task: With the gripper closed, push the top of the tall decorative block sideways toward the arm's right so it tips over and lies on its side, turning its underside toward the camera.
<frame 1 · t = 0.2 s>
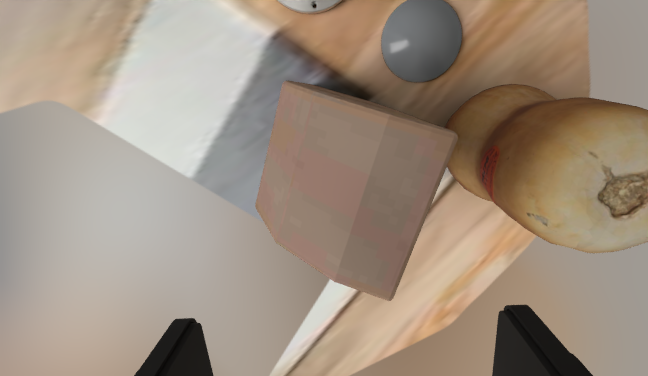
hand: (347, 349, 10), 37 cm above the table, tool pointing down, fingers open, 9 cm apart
butternut squash: (479, 137, 44), on the table
grey dome: (420, 41, 41), on the table
decorative block: (335, 129, 45), on the table
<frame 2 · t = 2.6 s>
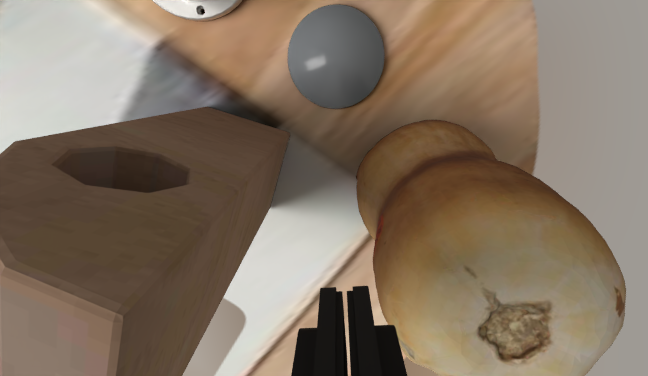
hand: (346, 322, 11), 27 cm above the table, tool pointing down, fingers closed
butternut squash: (410, 174, 37), on the table
grey dome: (335, 59, 34), on the table
decorative block: (239, 159, 37), on the table
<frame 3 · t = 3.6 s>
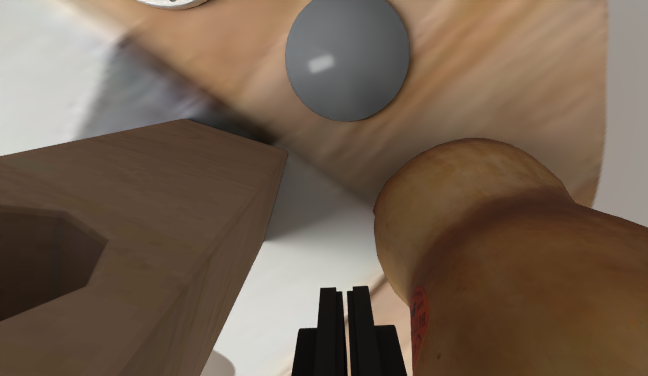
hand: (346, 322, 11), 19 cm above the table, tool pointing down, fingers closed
butternut squash: (438, 203, 30), on the table
grey dome: (346, 59, 26), on the table
decorative block: (226, 183, 30), on the table
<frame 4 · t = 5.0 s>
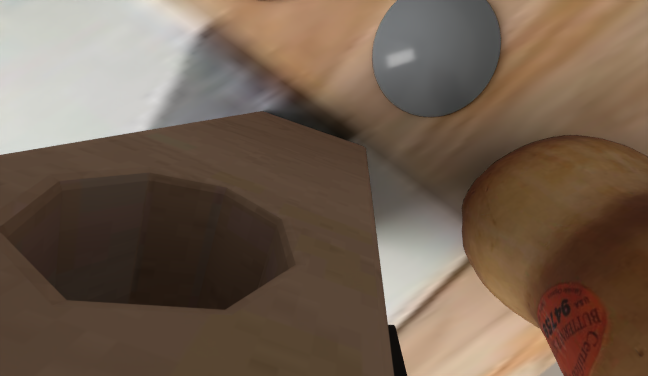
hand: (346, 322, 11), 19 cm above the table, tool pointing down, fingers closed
butternut squash: (513, 201, 30), on the table
grey dome: (433, 53, 26), on the table
decorative block: (297, 179, 29), on the table, touching gripper
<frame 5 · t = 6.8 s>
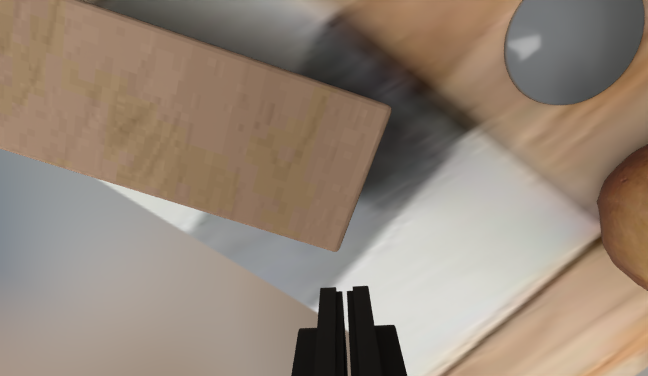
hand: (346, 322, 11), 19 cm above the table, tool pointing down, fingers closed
butternut squash: (635, 191, 29), on the table
grey dome: (569, 39, 25), on the table
decorative block: (361, 167, 24), point 5 cm above the table
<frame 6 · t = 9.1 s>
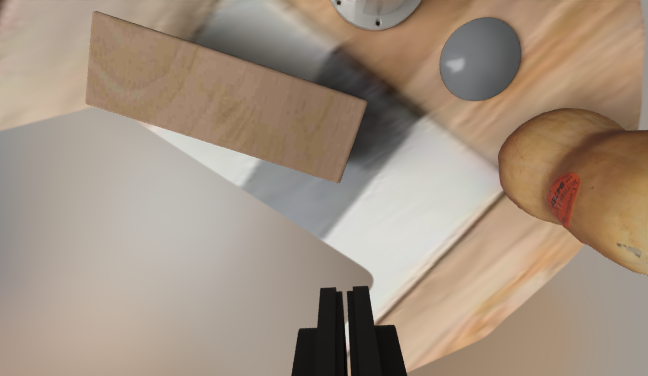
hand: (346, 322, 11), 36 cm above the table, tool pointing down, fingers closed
butternut squash: (528, 156, 45), on the table
grey dome: (478, 61, 42), on the table
decorative block: (353, 138, 40), point 5 cm above the table
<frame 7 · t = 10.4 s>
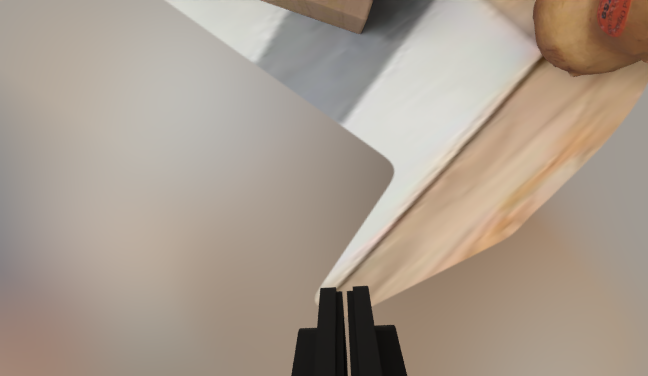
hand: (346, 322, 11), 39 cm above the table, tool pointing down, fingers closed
butternut squash: (563, 21, 43), on the table
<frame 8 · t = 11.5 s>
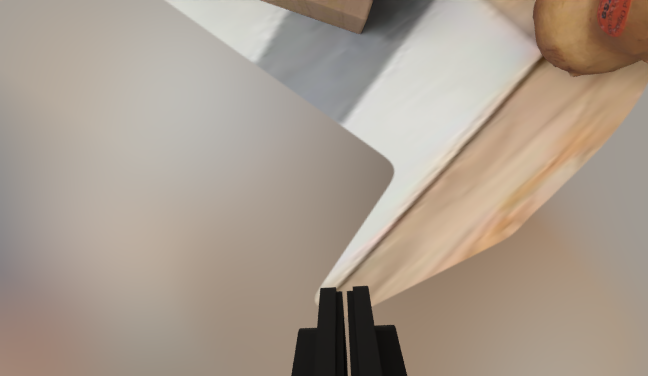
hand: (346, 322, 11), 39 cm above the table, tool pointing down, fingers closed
butternut squash: (563, 21, 43), on the table
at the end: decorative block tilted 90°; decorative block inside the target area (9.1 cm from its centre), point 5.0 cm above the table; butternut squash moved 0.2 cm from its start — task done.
